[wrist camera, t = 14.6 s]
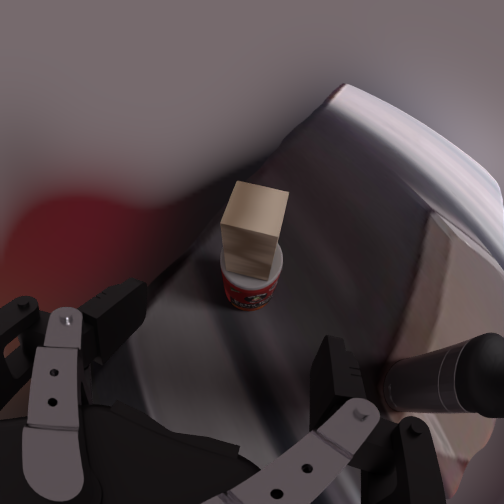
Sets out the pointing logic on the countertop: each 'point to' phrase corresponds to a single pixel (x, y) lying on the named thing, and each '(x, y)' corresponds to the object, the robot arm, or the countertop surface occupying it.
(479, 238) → the countertop surface
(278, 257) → the canned food
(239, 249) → the oak block
